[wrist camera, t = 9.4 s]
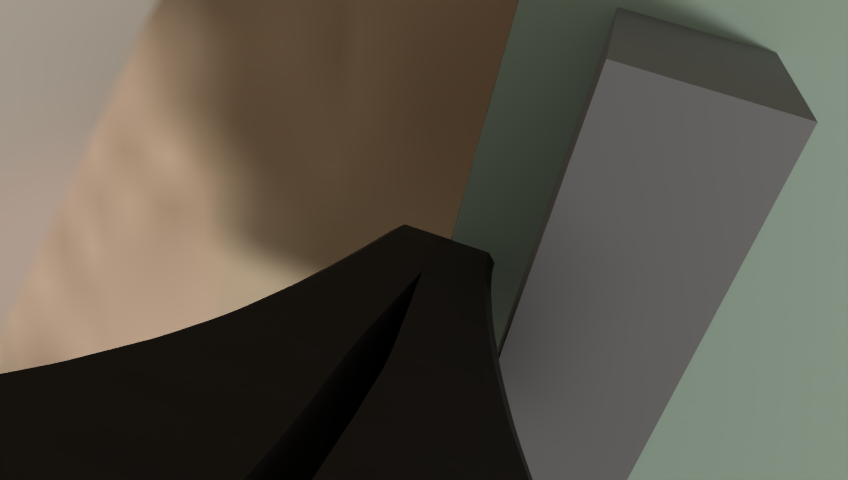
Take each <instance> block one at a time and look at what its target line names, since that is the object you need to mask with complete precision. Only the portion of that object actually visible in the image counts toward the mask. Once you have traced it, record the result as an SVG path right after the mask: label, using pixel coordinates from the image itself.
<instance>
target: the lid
mask: <svg viewBox="0 0 848 480" xmlns="http://www.w3.org/2000/svg"><path fill="white" fill-rule="evenodd" d="M451 240H453V241H456V242H459V243H462V244H465V245H468V246H471V247H474V248H477V249H480V250H483V251H486V252H488V253H489V254H490V255H491V257H492V259H493V261H494V263H495V264H494V267H493V271H492V280H491V300H492V315H493V325H494V332H495V338H496V345H497V351H498V358H499V363H500V368H501V373H502V378H503V382H504V387H505V391H506V395H507V399H508V403H509V407H510V411H511V414H512V418H513V421H514V425H515V428H516V432H517V435H518V438H519V441H520V445H521V448H522V450H523V453H524V456H525V459H526V462H527V465H528V468H529V470H530V473H531V476H532V479H533V480H848V0H519V2H518V5H517V9H516V12H515V16H514V19H513V23H512V26H511V30H510V34H509V37H508V41H507V44H506V48H505V51H504V55H503V58H502V62H501V65H500V69H499V72H498V76H497V79H496V83H495V86H494V90H493V93H492V97H491V101H490V104H489V108H488V111H487V115H486V118H485V122H484V125H483V129H482V132H481V136H480V139H479V143H478V146H477V150H476V153H475V157H474V160H473V164H472V168H471V171H470V175H469V178H468V182H467V185H466V189H465V192H464V196H463V199H462V203H461V206H460V210H459V213H458V217H457V220H456V224H455V227H454V231H453V235H452V238H451Z"/></svg>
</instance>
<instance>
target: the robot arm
mask: <svg viewBox="0 0 848 480" xmlns="http://www.w3.org/2000/svg"><path fill="white" fill-rule="evenodd" d="M494 264H495V263H494V261H493V259H492V257H491V255H490V254H489V253H488V252H486V251H483V250H480V249H477V248H474V247H471V246H468V245H465V244H462V243H459V242H456V241H453V240H450V239H447V238H444V237H441V236H438V235H435V234H432V233H429V232H426V231H423V230H420V229H417V228H414V227H411V226H408V225H403V226H400V227H398V228H396V229H394V230H392V231H391V232H389V233H387V234H385V235H384V236H382V237H380V238H379V239H377V240H375V241H373V242H372V243H370V244H368V245H367V246H365V247H363V248H361V249H360V250H358V251H356V252H354V253H353V254H351V255H349V256H347V257H346V258H344V259H342V260H340V261H338V262H336V263H334V264H333V265H331V266H329V267H327V268H325V269H323V270H321V271H319V272H317V273H315V274H313V275H312V276H310V277H308V278H306V279H304V280H302V281H300V282H298V283H296V284H294V285H292V286H290V287H287V288H285V289H283V290H281V291H279V292H276V293H274V294H272V295H270V296H267V297H265V298H263V299H261V300H259V301H256V302H254V303H252V304H250V305H247V306H245V307H243V308H241V309H238V310H236V311H233V312H231V313H228V314H225V315H223V316H220V317H217V318H215V319H212V320H209V321H206V322H203V323H200V324H197V325H194V326H191V327H188V328H185V329H182V330H179V331H176V332H173V333H170V334H167V335H163V336H160V337H157V338H153V339H150V340H146V341H142V342H138V343H134V344H130V345H126V346H123V347H119V348H115V349H111V350H107V351H103V352H99V353H95V354H91V355H87V356H83V357H79V358H75V359H72V360H68V361H63V362H59V363H54V364H49V365H44V366H39V367H34V368H29V369H24V370H19V371H14V372H8V373H3V374H0V480H533V479H532V476H531V473H530V470H529V468H528V465H527V462H526V459H525V456H524V453H523V450H522V448H521V445H520V441H519V438H518V435H517V432H516V428H515V425H514V421H513V418H512V414H511V411H510V407H509V403H508V399H507V395H506V391H505V387H504V382H503V378H502V373H501V368H500V363H499V358H498V351H497V345H496V338H495V332H494V325H493V315H492V300H491V280H492V271H493V267H494Z"/></svg>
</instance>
